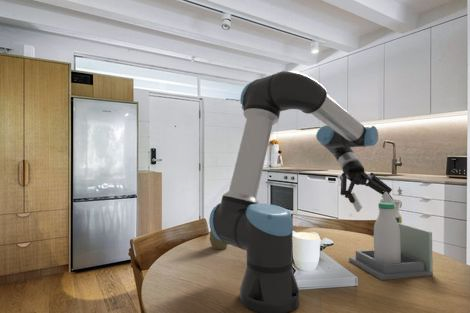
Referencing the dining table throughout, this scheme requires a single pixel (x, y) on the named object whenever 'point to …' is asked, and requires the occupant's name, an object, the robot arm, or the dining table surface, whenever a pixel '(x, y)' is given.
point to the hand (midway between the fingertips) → (376, 209)
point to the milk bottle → (387, 236)
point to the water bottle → (396, 209)
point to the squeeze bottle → (216, 242)
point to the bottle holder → (412, 256)
